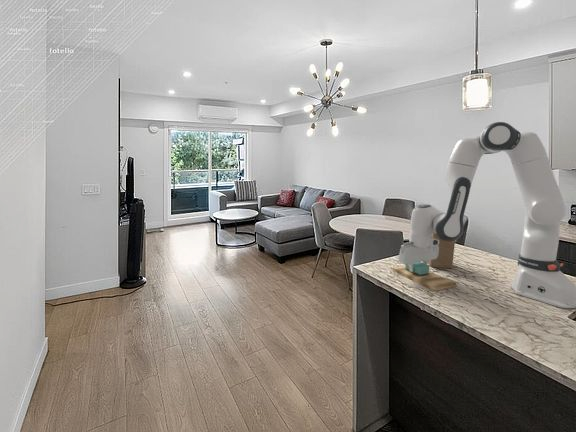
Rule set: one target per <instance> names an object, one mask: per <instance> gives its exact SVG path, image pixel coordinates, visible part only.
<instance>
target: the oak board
mask: <svg viewBox="0 0 576 432" xmlns="http://www.w3.org/2000/svg"><path fill="white" fill-rule="evenodd" d="M405 267H406V264H404V265H401V266H399V265H398V266H395V267H394V266H393V267H392V272H395V273H396V272H397V274H398V275H400V276H403V277H405V278H407V279H410V280H411V281H413V282H416V283H418V284H419V285H422V286H423V287H426V288H429V289H430V290H432V291H439V290H445V289H449V288H454V287H457V284H458V283H457V282H456V281H453V280H451V279H448V278H446V277H444V276H441V275H439V274H436V273H434V272H431V271H429V274H427V275H422V276H420V275H417V274H415V273H413V272H411V271H408V270H406V269H405Z"/></svg>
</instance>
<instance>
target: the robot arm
mask: <svg viewBox="0 0 576 432" xmlns="http://www.w3.org/2000/svg"><path fill="white" fill-rule="evenodd" d="M501 152H505V154H507V155H508V157H509V159H510V163H511V165H512V169H513V172H514V175H515V178H516V181H517V185H518V187H519V190H520V193H521V197H522V199H523V203H524V206H525V213H524V222H523V234H522V240H521V241H522V242H521V248H520V253H519V254H518V259H517V269H516V274H515V276H514V279H513V280H512V283H511V284H510V287H511V289H512V290H514V293H515V294H517V295H519V296H523V297H524V298H525V297H526V298H527V299H533V300H535V301H538V302H541V303H546V304H547V305H551V306H555V307H558V308H561V309H575V308H576V283H574V282H573V281H572V280H571V279H569V277H567V275H565V273H564V272H562V271H561V267H563V266H564V263H563V262H562V263H559V261H558V260H557V255H558V250H559V249H558V248H559V241H560V225H561V222H562V221H563V219H564V218H565V217H566V214H567V206H566V205H565V201H564V199H563V196H562V194H561V190H560V188H559V185H558V182H557V180H556V178H555V174H554V172H553V169H552V165H551V163H550V160H549V156H548V154H547V150H546V148H545V146H544V144H543V142H542V141H541V138H540V137H539V136H538V134H536V132H532V131H525V132H520V131H519V130H517V128H515V127H514V126H512V125H511V124H510V123H507V122H504V121H497V122H493V123H490V124H489V125H488V126H487V127H485V128H484V129H483V130H481V132H480V134H479V135H478V136H477V137H475V138H473V137H464V138H461V139H459V140H458V141H457V142H456V144H455V146H454V147H453V149H452V151H451V153H450V157H449V159H448V161H447V165H446V168H445V175H444V176H445V177H444V178H445V181H446V183H447V184H448V187H449V190H450V191H449V192H450V194H449V199H448V203H447V206H446V211H445V212H443V211H440V210H439V209H437V208H436V207H434V206H433V205H431V204H419V205H417V206H415V207H413V209H412V211H411V217H410V231H409V238H408V239H409V240H408V241H409V242H408V241H407V242H404V243H403V244H402V245H401V246H400V249H399V254H398V262H399V263H401V264H403V265H406V264H408V265H409V267H410V268H409V271H411V272H414V271H415V268H413V265H414V263H415V262H422V263H424V264H427V265H429V264H428V260H434V259H437V257H438V252H439V246H438V244H439V240H437V239H434V238H432V237H431V234H432V233H436V234H437V235H438V237H439V238H440V239H442V240H444V241H448V242H451V241H455V242H456V241H458V239H460V238H461V237H462V236H463V233H464V229H465V227H464V226H465V225H464V214H465V211H466V208H467V204H468V200H469V196H470V192H471V187H472V185H473V184H472V183H473V180H474V178H475V175H476V172H477V169H478V166H479V163H480V161H481V159H482V157H483V156H484V155H491V154H497V153H501Z"/></svg>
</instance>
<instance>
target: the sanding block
mask: <svg viewBox="0 0 576 432" xmlns="http://www.w3.org/2000/svg"><path fill="white" fill-rule="evenodd" d="M405 265H406V267H405V269H406V270H408V271H409V268H410V267H409V265H408V264H405ZM413 268H415V271H414V272H413V273H415V274H417V275H420V276H422V275H427V274H429V272H430V265H429V264H424V263H423V261H421V262H415V263H414V265H413Z"/></svg>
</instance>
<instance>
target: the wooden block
mask: <svg viewBox="0 0 576 432" xmlns="http://www.w3.org/2000/svg"><path fill="white" fill-rule="evenodd" d="M431 237H432V238H434V239H437V240H439V244H438V246H439V252H438V257H437V259H434V260H428V264H427V265H429V268H430V267H431V268H440V269H441V268H442V269H452V268H453V266H454V265H453V264H454V254H455V247H456V246H455V244H456V240H455V241H451V242H448V241H444V240H442V239H440V238H439V237H438V235H437V234H436V233H432V234H431Z"/></svg>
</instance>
